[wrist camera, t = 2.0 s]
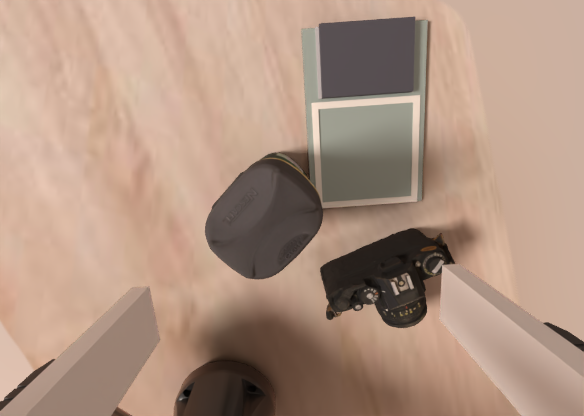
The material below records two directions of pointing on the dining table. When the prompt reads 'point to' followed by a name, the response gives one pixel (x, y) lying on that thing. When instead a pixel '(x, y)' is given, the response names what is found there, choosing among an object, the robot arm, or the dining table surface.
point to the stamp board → (366, 137)
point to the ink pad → (365, 57)
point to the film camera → (386, 277)
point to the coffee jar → (264, 217)
